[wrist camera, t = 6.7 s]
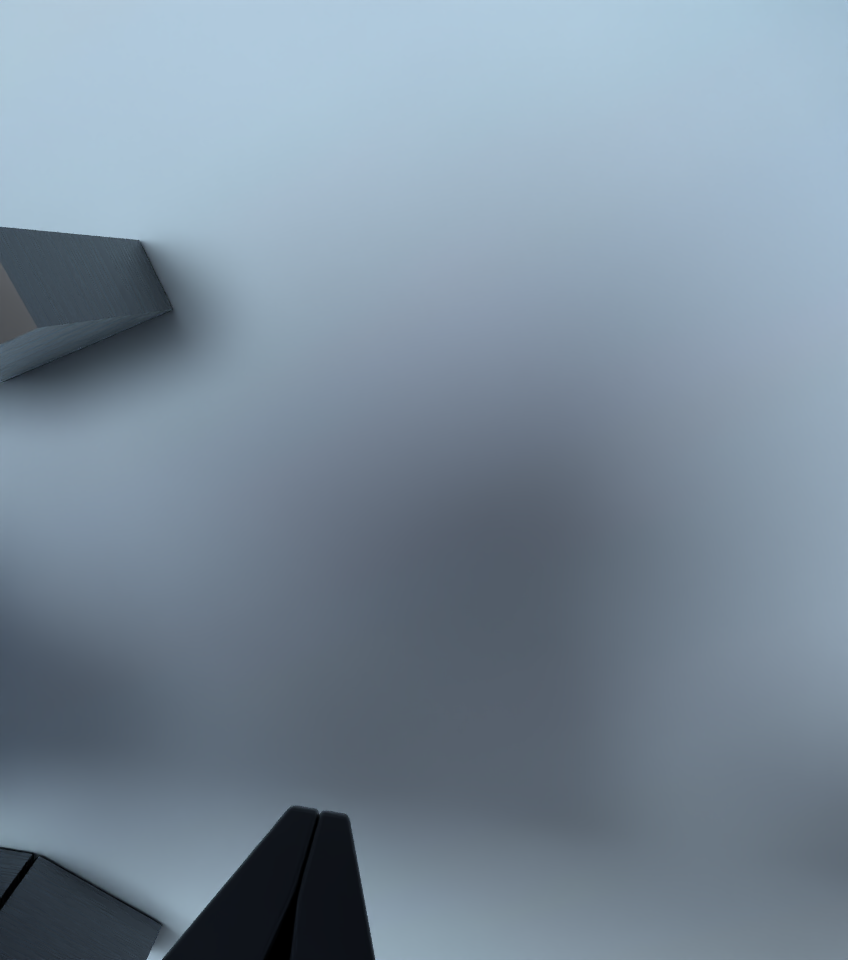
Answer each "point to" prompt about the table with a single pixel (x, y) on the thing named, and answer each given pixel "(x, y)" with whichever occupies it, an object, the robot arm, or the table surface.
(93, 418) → the table surface
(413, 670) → the table surface
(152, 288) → the bracket
